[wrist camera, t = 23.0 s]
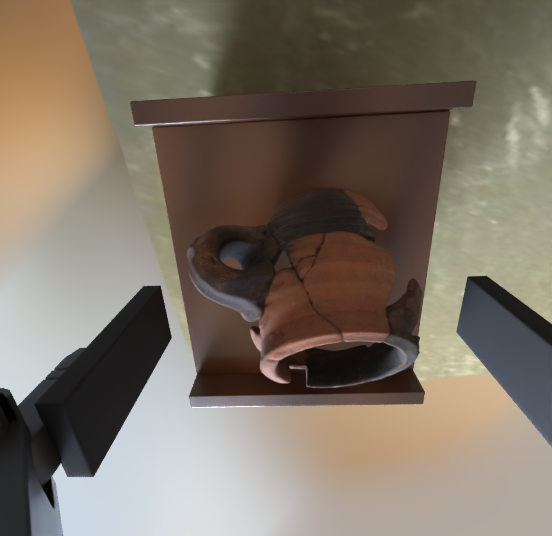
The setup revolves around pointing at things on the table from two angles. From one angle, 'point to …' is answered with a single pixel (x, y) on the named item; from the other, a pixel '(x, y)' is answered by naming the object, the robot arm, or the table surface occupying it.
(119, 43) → the table surface
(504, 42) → the table surface
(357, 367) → the pottery mug
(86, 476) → the robot arm
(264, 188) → the shelf
